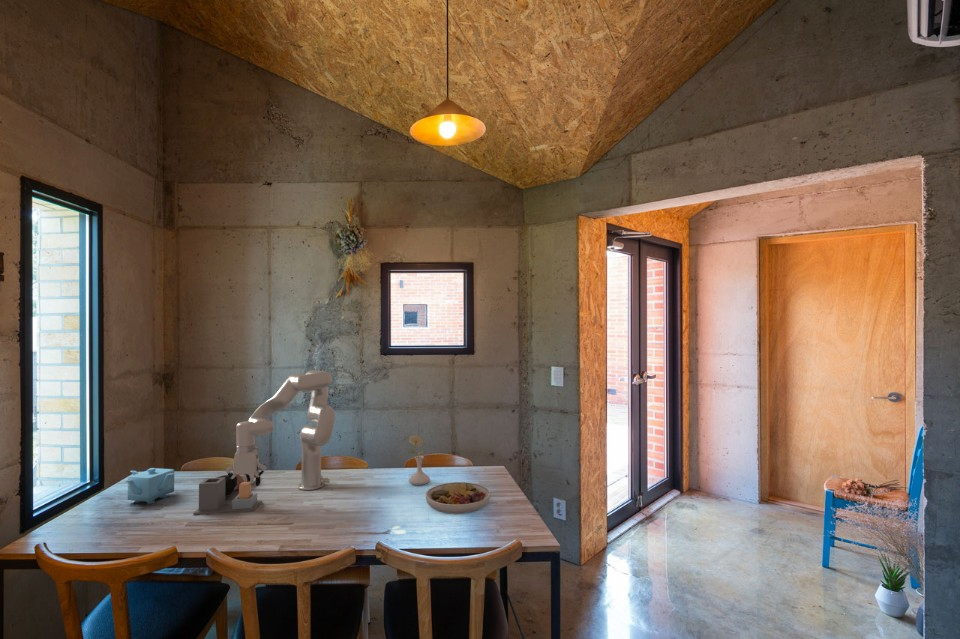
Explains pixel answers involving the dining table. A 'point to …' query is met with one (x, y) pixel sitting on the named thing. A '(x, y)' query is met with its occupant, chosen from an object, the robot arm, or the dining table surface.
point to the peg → (245, 490)
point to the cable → (240, 479)
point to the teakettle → (150, 484)
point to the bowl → (457, 497)
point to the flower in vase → (418, 463)
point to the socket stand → (222, 499)
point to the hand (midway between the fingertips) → (246, 486)
